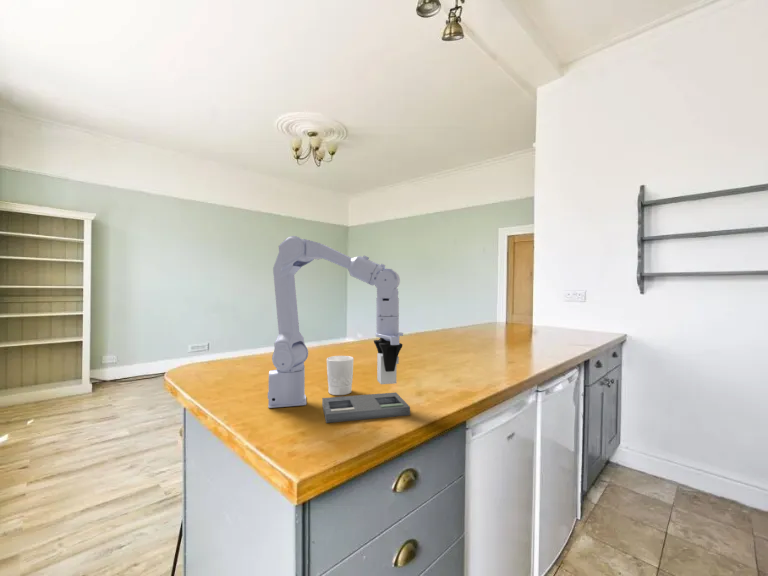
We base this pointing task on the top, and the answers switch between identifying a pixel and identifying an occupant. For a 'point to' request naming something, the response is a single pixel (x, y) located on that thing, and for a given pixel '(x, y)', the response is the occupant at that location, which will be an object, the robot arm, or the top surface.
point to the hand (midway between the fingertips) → (387, 369)
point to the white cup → (340, 374)
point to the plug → (382, 375)
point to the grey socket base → (364, 407)
